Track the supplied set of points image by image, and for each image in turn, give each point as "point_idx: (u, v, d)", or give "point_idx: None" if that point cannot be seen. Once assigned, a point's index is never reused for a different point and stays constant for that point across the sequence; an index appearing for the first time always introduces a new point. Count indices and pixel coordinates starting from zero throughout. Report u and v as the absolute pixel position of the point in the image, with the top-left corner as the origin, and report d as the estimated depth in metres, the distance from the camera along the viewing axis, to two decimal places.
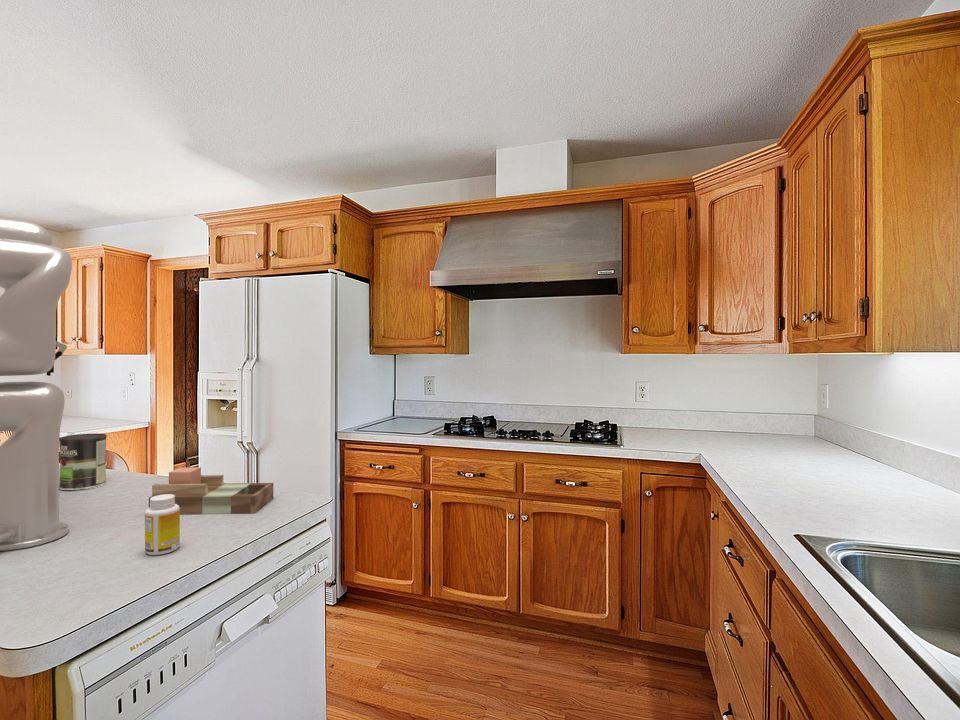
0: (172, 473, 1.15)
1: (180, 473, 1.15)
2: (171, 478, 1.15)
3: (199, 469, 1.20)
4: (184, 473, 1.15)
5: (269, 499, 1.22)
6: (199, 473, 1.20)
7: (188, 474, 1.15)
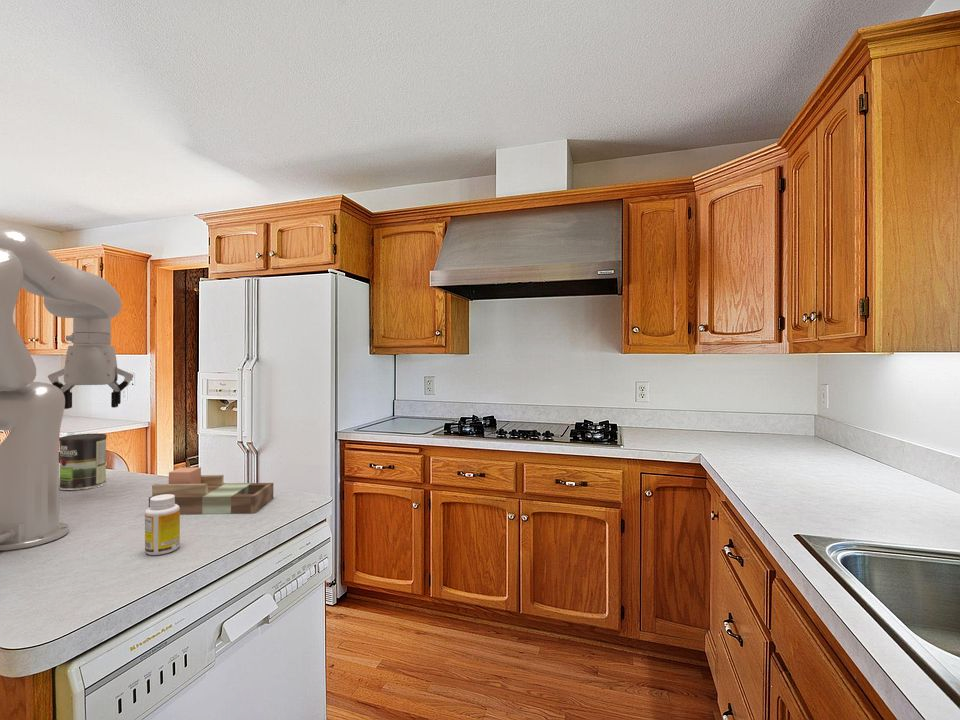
0: (172, 473, 1.15)
1: (180, 473, 1.15)
2: (171, 478, 1.15)
3: (199, 469, 1.20)
4: (184, 473, 1.15)
5: (269, 499, 1.22)
6: (199, 473, 1.20)
7: (188, 474, 1.15)
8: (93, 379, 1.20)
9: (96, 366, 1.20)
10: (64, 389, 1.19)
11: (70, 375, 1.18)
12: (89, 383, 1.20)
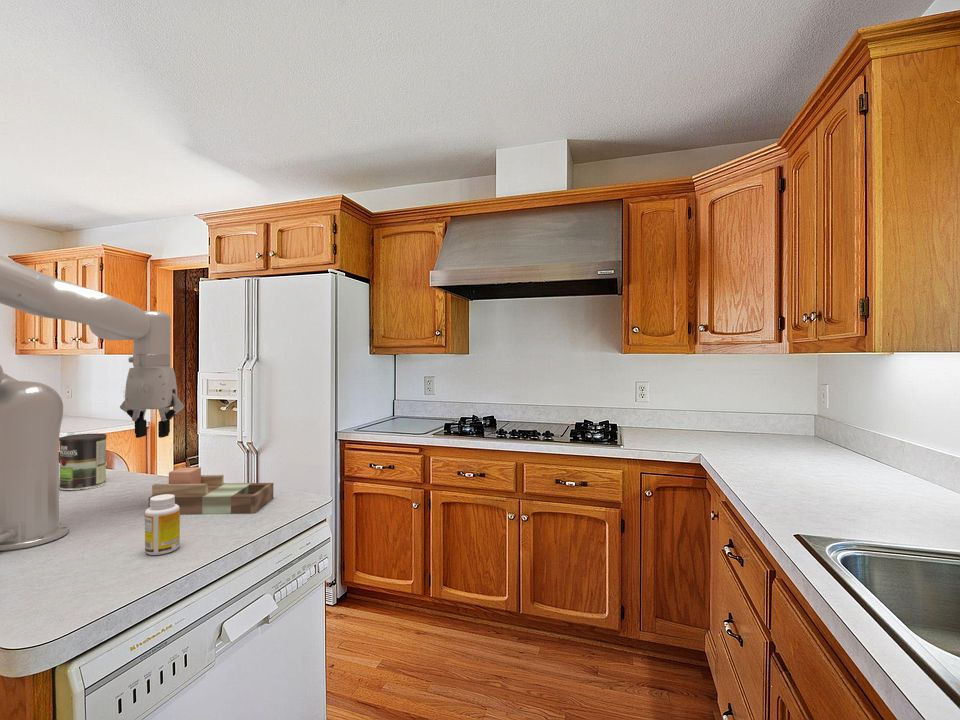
0: (172, 473, 1.15)
1: (180, 473, 1.15)
2: (171, 478, 1.15)
3: (199, 469, 1.20)
4: (184, 473, 1.15)
5: (269, 499, 1.22)
6: (199, 473, 1.20)
7: (188, 474, 1.15)
8: (150, 403, 1.14)
9: (152, 389, 1.14)
10: (135, 417, 1.16)
11: (129, 399, 1.14)
12: (146, 407, 1.14)
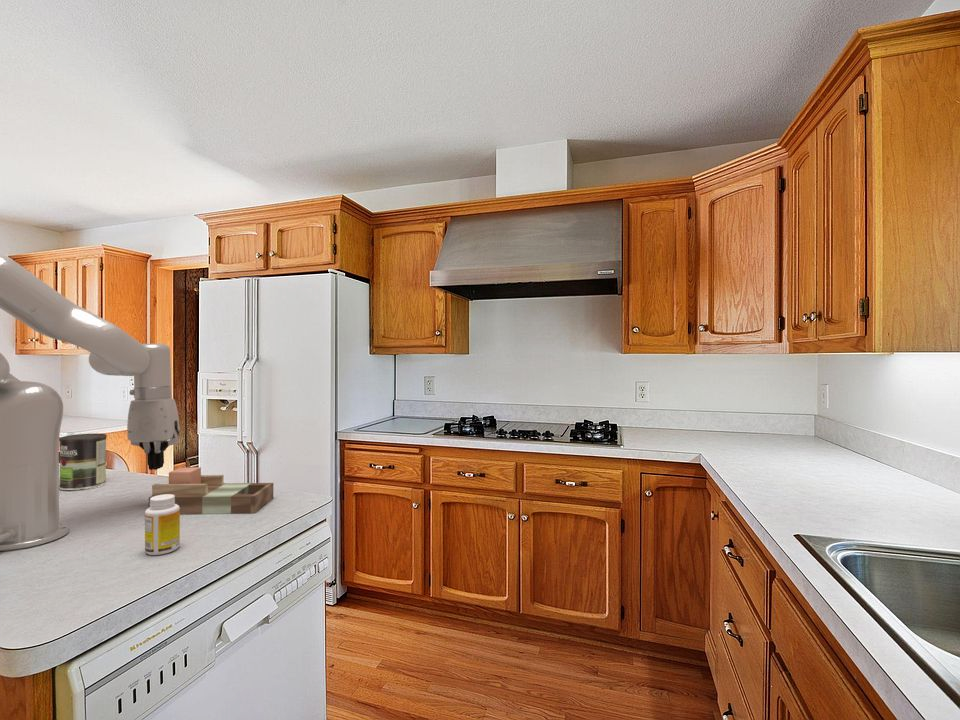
0: (172, 473, 1.15)
1: (180, 473, 1.15)
2: (171, 478, 1.15)
3: (199, 469, 1.20)
4: (184, 473, 1.15)
5: (269, 499, 1.22)
6: (199, 473, 1.20)
7: (188, 474, 1.15)
8: (152, 436, 1.15)
9: (154, 422, 1.15)
10: (147, 449, 1.16)
11: (132, 432, 1.15)
12: (149, 440, 1.15)
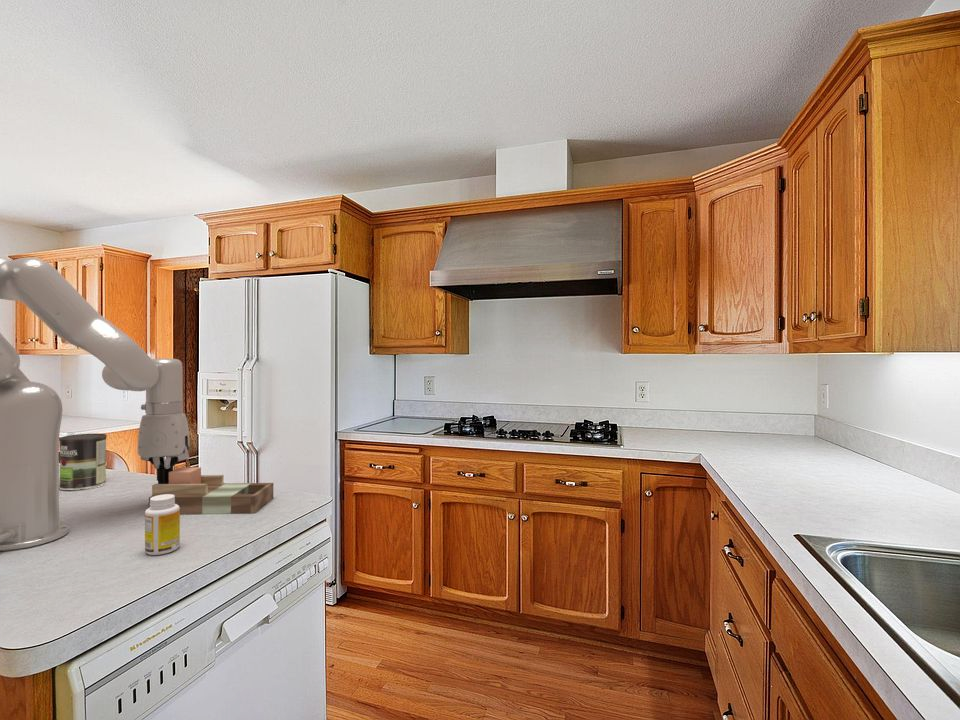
0: (172, 473, 1.15)
1: (180, 473, 1.15)
2: (171, 478, 1.15)
3: (199, 469, 1.20)
4: (184, 473, 1.15)
5: (269, 499, 1.22)
6: (199, 473, 1.20)
7: (188, 474, 1.15)
8: (162, 451, 1.15)
9: (165, 437, 1.15)
10: (157, 464, 1.16)
11: (142, 447, 1.14)
12: (159, 455, 1.15)
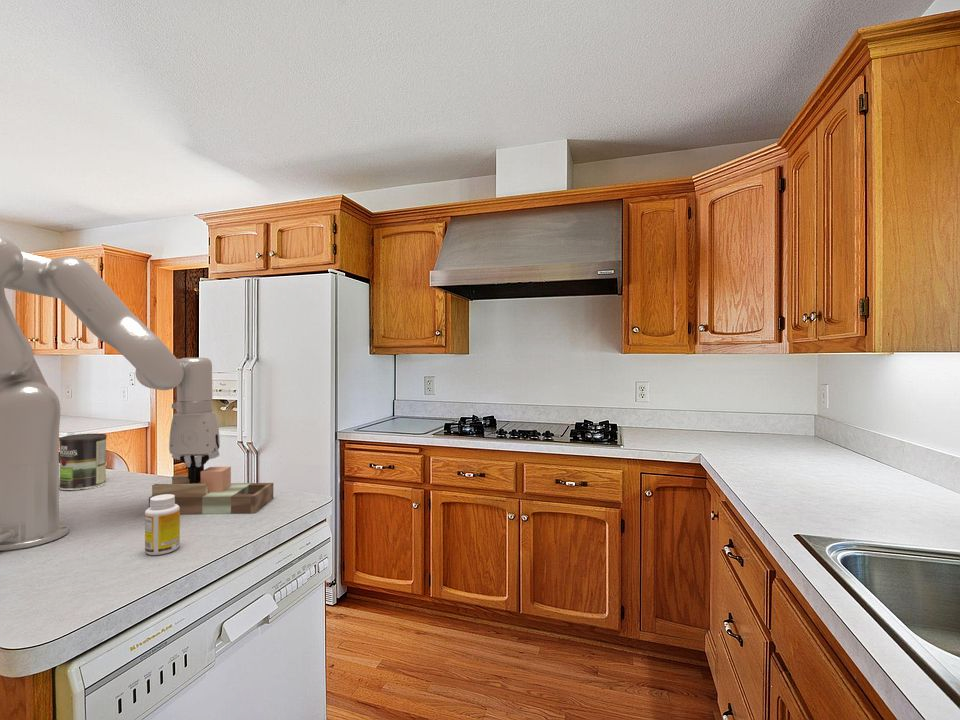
0: (204, 472, 1.16)
1: (212, 472, 1.16)
2: (203, 477, 1.16)
3: (229, 468, 1.21)
4: (216, 472, 1.16)
5: (269, 499, 1.22)
6: (229, 472, 1.21)
7: (220, 473, 1.17)
8: (194, 449, 1.15)
9: (196, 436, 1.15)
10: (188, 462, 1.17)
11: (174, 445, 1.15)
12: (191, 454, 1.16)
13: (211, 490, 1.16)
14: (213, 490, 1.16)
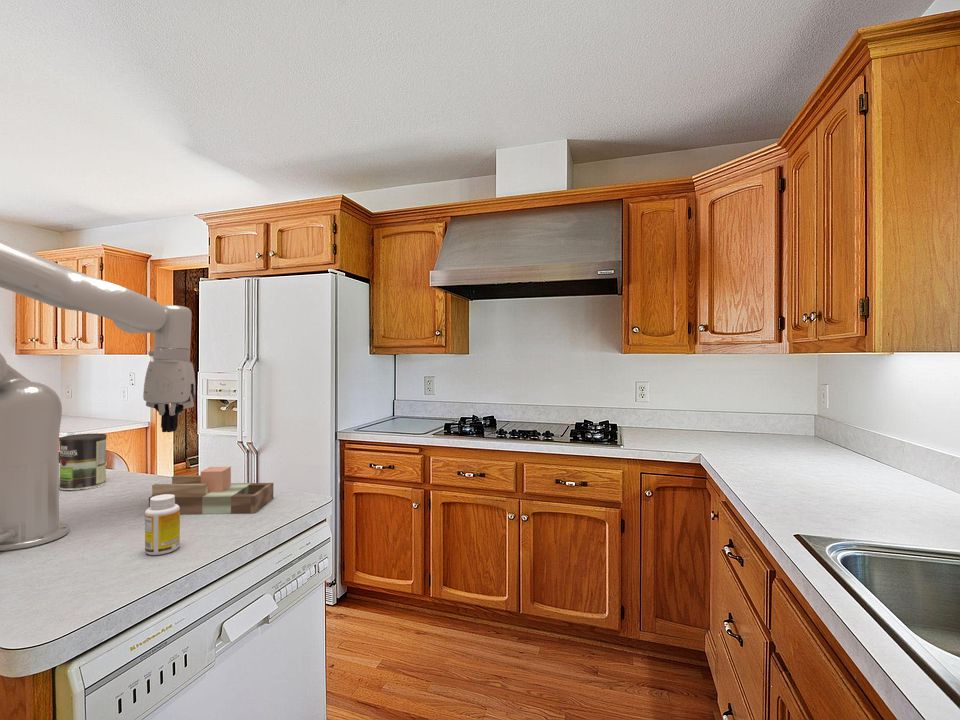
0: (204, 472, 1.16)
1: (212, 472, 1.16)
2: (203, 477, 1.16)
3: (229, 468, 1.21)
4: (216, 472, 1.16)
5: (269, 499, 1.22)
6: (229, 472, 1.21)
7: (220, 473, 1.17)
8: (168, 397, 1.14)
9: (171, 383, 1.14)
10: (162, 411, 1.16)
11: (148, 392, 1.14)
12: (164, 401, 1.14)
13: (211, 490, 1.16)
14: (213, 490, 1.16)
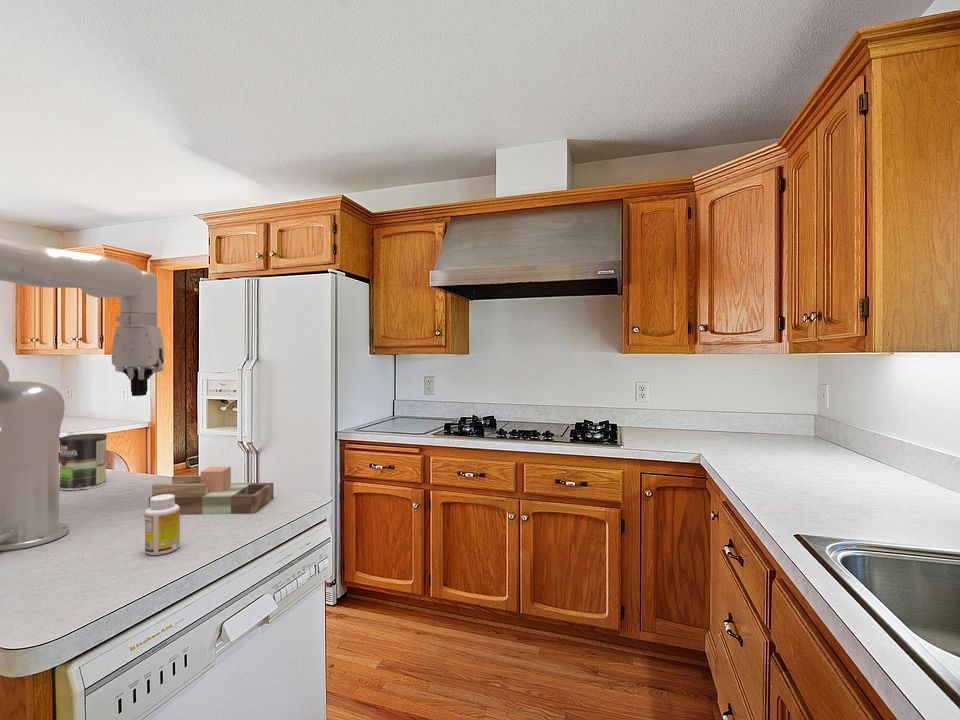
0: (204, 472, 1.16)
1: (212, 472, 1.16)
2: (203, 477, 1.16)
3: (229, 468, 1.21)
4: (216, 472, 1.16)
5: (269, 499, 1.22)
6: (229, 472, 1.21)
7: (220, 473, 1.17)
8: (136, 361, 1.16)
9: (139, 348, 1.16)
10: (131, 375, 1.17)
11: (116, 357, 1.16)
12: (133, 365, 1.16)
13: (211, 490, 1.16)
14: (213, 490, 1.16)
